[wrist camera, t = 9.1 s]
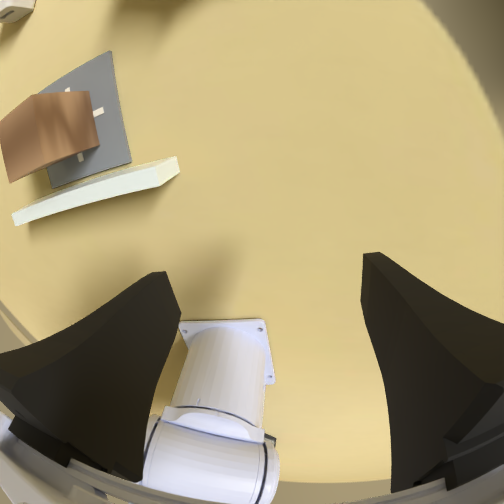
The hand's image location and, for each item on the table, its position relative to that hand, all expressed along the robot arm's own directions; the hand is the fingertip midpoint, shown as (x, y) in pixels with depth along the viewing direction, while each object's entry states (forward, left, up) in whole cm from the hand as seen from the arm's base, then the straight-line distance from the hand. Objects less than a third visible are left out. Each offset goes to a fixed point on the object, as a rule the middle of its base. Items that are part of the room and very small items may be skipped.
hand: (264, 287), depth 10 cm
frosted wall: (+4, +14, -10) cm, 18 cm away
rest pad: (+9, +14, -10) cm, 19 cm away
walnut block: (+9, +14, -10) cm, 19 cm away
